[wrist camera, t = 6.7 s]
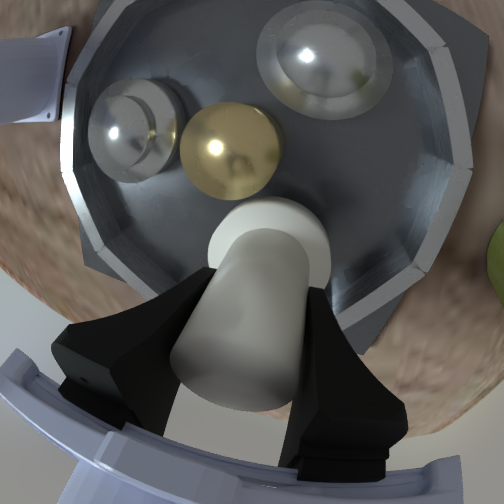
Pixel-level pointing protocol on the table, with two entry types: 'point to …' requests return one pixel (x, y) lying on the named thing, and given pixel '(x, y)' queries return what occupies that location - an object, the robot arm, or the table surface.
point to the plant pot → (497, 261)
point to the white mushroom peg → (254, 306)
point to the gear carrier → (273, 135)
